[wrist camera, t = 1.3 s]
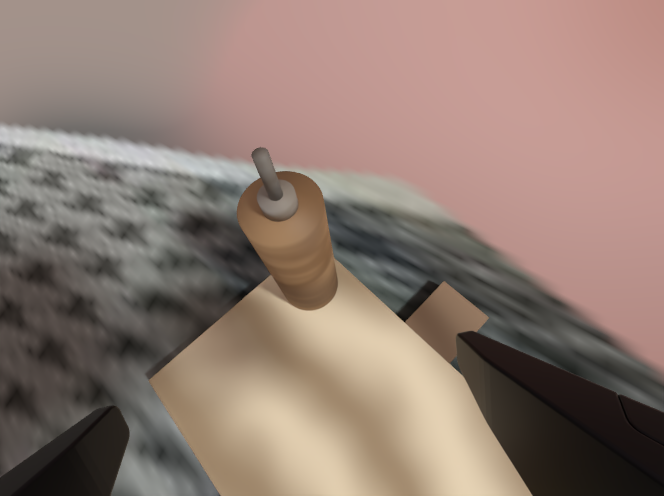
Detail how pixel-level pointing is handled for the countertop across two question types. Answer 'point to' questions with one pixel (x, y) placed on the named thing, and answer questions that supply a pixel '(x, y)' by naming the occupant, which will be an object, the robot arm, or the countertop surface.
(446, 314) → the panel
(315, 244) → the awl
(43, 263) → the countertop surface
